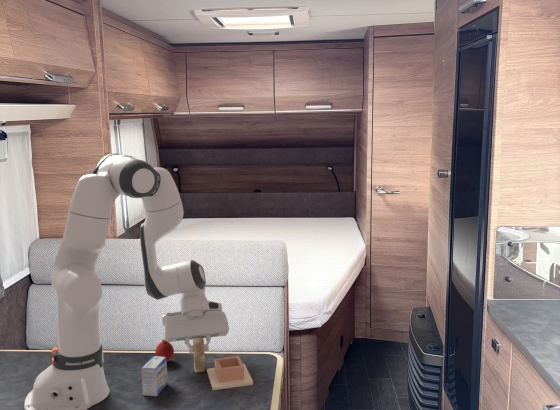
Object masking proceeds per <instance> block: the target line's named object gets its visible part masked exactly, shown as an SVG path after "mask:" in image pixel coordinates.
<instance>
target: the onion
mask: <svg viewBox="0 0 560 410" xmlns="http://www.w3.org/2000/svg"><path fill="white" fill-rule="evenodd" d="M174 355H175V349H174V346H173V345H172V343H171V342H167V341H166V340H165V338H163V339H161V342H160V343H158V344H157V346H156V348H155V356H160V357H166V362H167V363H168V362H170V361H171V359H172V358H173V357H174Z"/></svg>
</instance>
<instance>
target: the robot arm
mask: <svg viewBox="0 0 560 410" xmlns="http://www.w3.org/2000/svg"><path fill="white" fill-rule="evenodd" d="M120 195H122V196H125V197H126V196H127V197H130V198H133V199H141V201H142V205H143V207H144V211H145V219H144V221H143V223H141V224H140V229H139V241H140V251H141V257H142V265H143V272H144V273H143V274H144V280H143V281H144V289H145V291H146V294H147V295H148V296H149V297H151V298H153V299H155V300H156V301H157V300H158V301H159V300H162V299H164V298H168V297H171V296H175V295H179V298H180V300H179V309H180V311H175V312H167V313H166V314H164V315H163V316H162V319H161V320H162V325H163V326H164V339H165V340H166V341H167V342H169V343H173V342H181V341H184V345H186V347H187V348H188V350H189V351H188V352H189V353H190V354H192V353H193V354H194V345H193V344H192V345H191V343H190V341H191V340H192V341H193V338H200V337H203V339H205V341H206V343H204V352H208V351H209V349H210V348H209V345H210V342H211V339H212V338H217V337H226V336H228V334H229V331H230V325H229V322H228V318H227V315H226V313H225V312H224V311H223V305H222V303H220V302H216V301H211V300H208V299H207V296H206V284H207V281H206V275H205V269H204V268H203V266H202V265H201V264H200V263H199V262H197V261H196V260H193V259H191V260H189V259H188V260H184V261H178V262H175V263H173V264H171V263H170V264H169V265H168V264H167V265H158V261H157V260H158V259H157V253H156V243H157V242H158V241H160V240H161V239H162V238H163V237H165V236H167V235H168V234H171V233H172V232H173V231H174V230H176V228H177V227H179V225H181V222H182V220H183V217H184V207H183V202H182V198H181V195H180V192H179V189H178V186H177V185H176V182H175V180H174V178H173V176H172V175H171V173H170V171H168V169H166V168H164V167H157V166H156V167H154V166H152V165H151V164H150V163H148V162H147V161H145V160H142V159H138V158H136V157H134V156H132V155H127V154H123V153H122V154H121V153H110V154H107V155H105V156H103V157H102V158H101V159H100V160H99V162H98V163H97V165H96V167H95V168H94V170H93V171H92V173H91V174H89V173H88V174H86V175H82V176H81V177H80V178H79V179H78V181H77V184H76V186H75V188H74V191H73V193H72V197H71V200H70V203H69V208H68V213H67V216H66V217H67V218H66V222H65V227H64V232H63V236H62V240H61V243H60V246H59V248H58V251H57V255H56V257H55V261H54V263H53V265H52V266H53V267H52V269H51V272H50V283H51V286H52V288H53V290H54V292H55V294H56V297H57V302H58V303H57V304H58V305H57V306H58V307H57V308H58V311H57V312H58V315H57V324H56V327H57V330H56V331H57V339H58V343H57V344H58V347H57V346H55V347H53V348H52V350H51V352H50V353H51V365H49V366H48V367H47V368H45V369H44V370H42V371H41V372H40V373H39V374H38V376H37V377H36V379H35V380H34V383H33V386H32V387H33V388H32V389H31V390H30V391H29V392H28V394H27V396H25V399H24V405H23V408H24V410H88V409H89V408H91V407H92V406H94V405H97V404H98V403H100V402H103V401H104V400H105V399H106V398H107V397H108V396H109V394H110V390H111V389H110V388H109V386H108V382H107V380H106V375H105V370H104V349H103V345H102V343H101V330H100V314H101V304H102V303H101V301H102V296H103V287H102V282H101V280H100V277H99V276H98V275H97V274H96V273H95V268H96V263H97V261H98V258H99V256H100V254H101V252H102V251H103V250H102V249H104V247H105V245H106V240H107V235H108V231H109V227H110V221H111V216H112V212H113V206H114V204H115V201H116V200H117V199H118V197H119V196H120Z"/></svg>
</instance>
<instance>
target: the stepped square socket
mask: <svg viewBox="0 0 560 410" xmlns="http://www.w3.org/2000/svg"><path fill="white" fill-rule="evenodd" d="M206 373H207V376H208V380H209V383H210V385H211V390H212V391H218V390H224V389H233V388H239V387H247V386H253V385H254V381H253V379H252V377H251V374H250V372H249V370H248V368H247V365H246V364H245V363H243V361H242V360H241V357H240V355H236V356H226V357H220V358H214V367H211V368H206Z"/></svg>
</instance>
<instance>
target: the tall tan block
mask: <svg viewBox="0 0 560 410" xmlns="http://www.w3.org/2000/svg"><path fill="white" fill-rule="evenodd" d="M204 339H205V338H203V337H200V338H193V339H192V341H193V342H192V346H193V345H194V353H193V369H194V372H195V373H201V372H203V373H204V372H206V361H205V351H204V344H205V340H204Z"/></svg>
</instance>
